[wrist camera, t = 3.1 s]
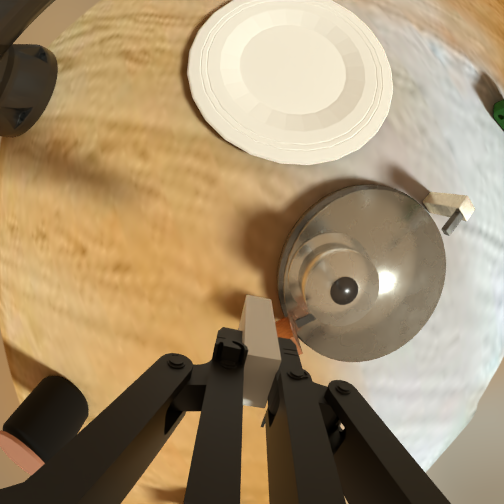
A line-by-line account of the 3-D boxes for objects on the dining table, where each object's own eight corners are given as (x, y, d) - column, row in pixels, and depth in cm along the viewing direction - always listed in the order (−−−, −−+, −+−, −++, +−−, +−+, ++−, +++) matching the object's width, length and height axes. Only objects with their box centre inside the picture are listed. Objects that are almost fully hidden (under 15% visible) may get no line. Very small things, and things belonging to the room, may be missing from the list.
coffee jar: (36, 377, 40) (-14, 432, 22) (66, 368, 39) (11, 434, 21) (68, 418, 42) (30, 478, 24) (101, 414, 41) (63, 485, 23)
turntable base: (305, 149, 32) (322, 138, 24) (455, 203, 33) (492, 209, 25) (257, 340, 37) (259, 377, 29) (402, 359, 38) (425, 388, 31)
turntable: (411, 161, 30) (436, 159, 25) (452, 307, 35) (474, 322, 29) (225, 254, 33) (220, 267, 27) (303, 390, 37) (309, 417, 32)
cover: (299, 222, 31) (310, 230, 25) (378, 242, 31) (401, 253, 26) (278, 305, 33) (283, 328, 27) (353, 319, 33) (370, 341, 28)
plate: (274, -28, 26) (275, -35, 24) (417, 77, 30) (423, 73, 28) (149, 86, 30) (144, 82, 28) (309, 209, 34) (312, 211, 32)
